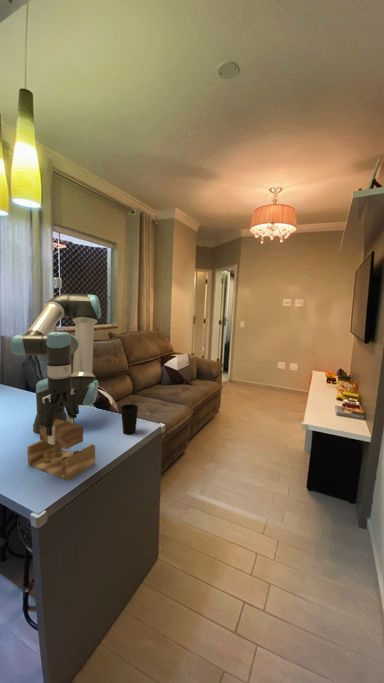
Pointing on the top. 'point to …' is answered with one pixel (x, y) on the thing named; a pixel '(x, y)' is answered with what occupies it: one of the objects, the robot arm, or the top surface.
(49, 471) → the stand
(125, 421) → the cup
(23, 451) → the top surface
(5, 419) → the top surface
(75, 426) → the brown wooden block
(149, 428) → the top surface
